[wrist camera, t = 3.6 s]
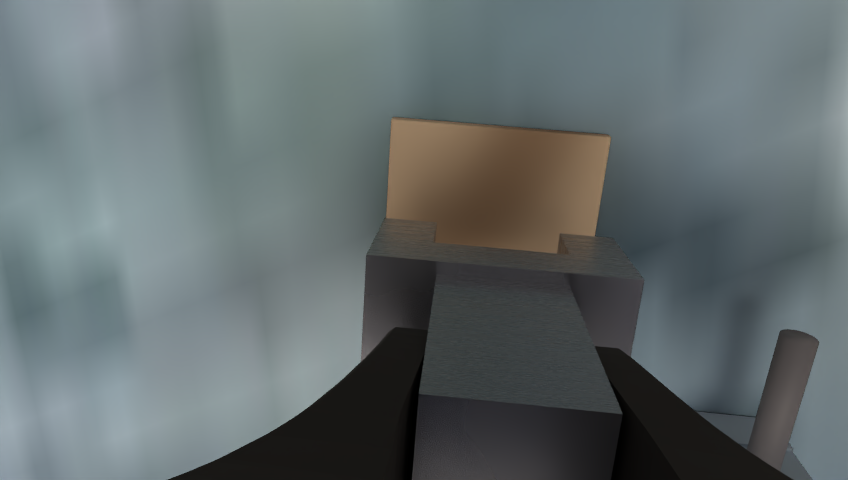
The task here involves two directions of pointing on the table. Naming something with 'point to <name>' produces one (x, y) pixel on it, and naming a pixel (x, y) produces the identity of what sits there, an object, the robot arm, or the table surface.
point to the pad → (496, 182)
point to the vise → (776, 406)
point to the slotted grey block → (506, 350)
